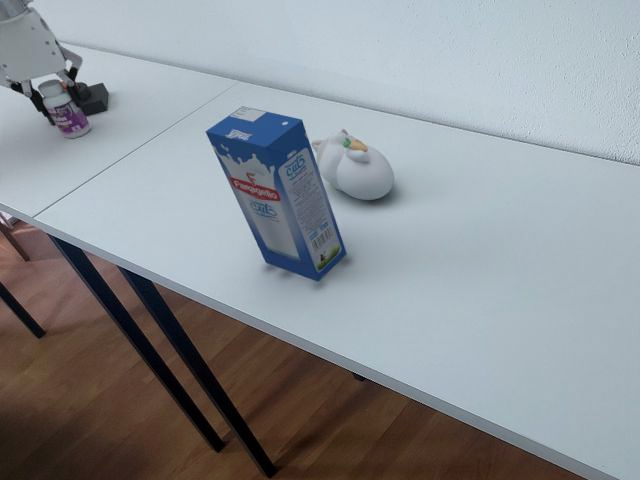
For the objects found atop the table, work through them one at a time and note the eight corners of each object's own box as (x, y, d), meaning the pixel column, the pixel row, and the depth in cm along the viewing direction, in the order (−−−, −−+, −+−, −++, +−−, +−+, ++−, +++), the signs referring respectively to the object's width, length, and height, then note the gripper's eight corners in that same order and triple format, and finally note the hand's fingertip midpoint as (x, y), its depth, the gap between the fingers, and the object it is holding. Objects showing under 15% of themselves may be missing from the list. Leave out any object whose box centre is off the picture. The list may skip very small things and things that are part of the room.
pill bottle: (60, 141, 122) (29, 93, 115) (68, 128, 126) (37, 80, 119) (88, 136, 123) (58, 87, 115) (95, 122, 126) (66, 74, 119)
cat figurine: (387, 144, 88) (312, 108, 94) (357, 193, 88) (285, 155, 94) (416, 175, 97) (346, 141, 103) (389, 220, 97) (320, 183, 103)
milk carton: (265, 262, 89) (204, 131, 74) (294, 236, 92) (242, 105, 78) (318, 281, 85) (265, 146, 70) (347, 254, 88) (302, 119, 73)
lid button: (61, 97, 127) (55, 89, 126) (62, 90, 130) (57, 82, 128) (79, 92, 128) (74, 84, 127) (80, 85, 130) (75, 77, 129)
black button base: (51, 125, 128) (39, 106, 125) (55, 106, 134) (43, 88, 131) (107, 110, 129) (96, 91, 126) (108, 92, 135) (98, 73, 132)
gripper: (55, -12, 111) (110, 89, 125) (-49, 13, 109) (19, 113, 122) (51, 1, 106) (109, 105, 120) (-57, 28, 104) (15, 131, 117)
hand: (63, 108), depth 121 cm, fingers closed on pill bottle, 5 cm apart
